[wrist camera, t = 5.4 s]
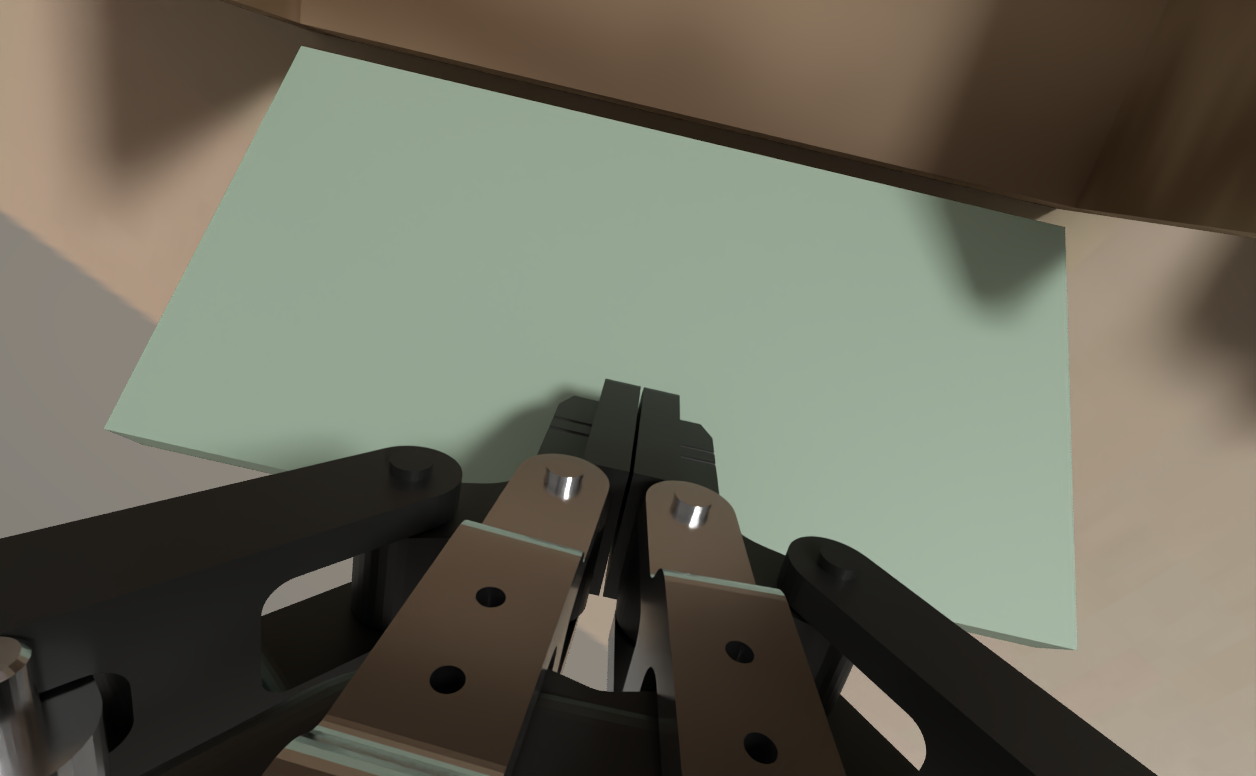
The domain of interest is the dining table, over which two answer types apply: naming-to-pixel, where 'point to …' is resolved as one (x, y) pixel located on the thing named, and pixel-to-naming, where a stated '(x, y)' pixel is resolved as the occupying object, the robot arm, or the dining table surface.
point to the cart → (896, 83)
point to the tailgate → (633, 326)
